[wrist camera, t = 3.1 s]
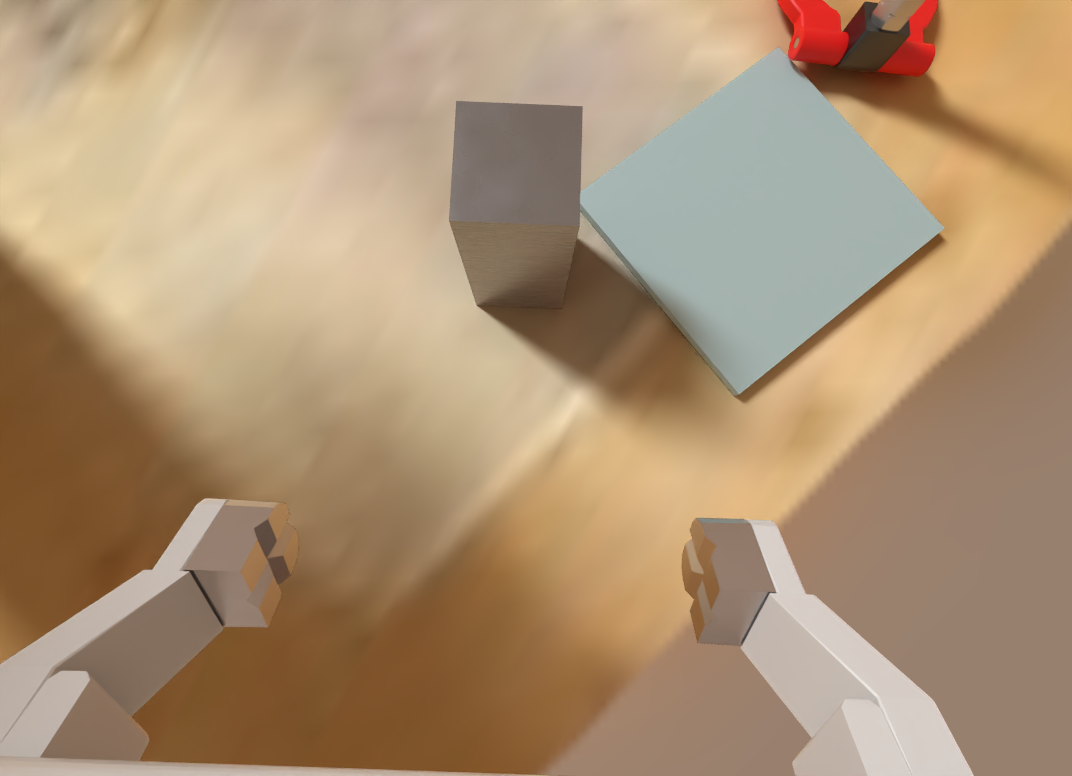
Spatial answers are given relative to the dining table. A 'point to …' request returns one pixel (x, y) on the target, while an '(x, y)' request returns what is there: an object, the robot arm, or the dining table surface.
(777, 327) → the pad
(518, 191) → the link block
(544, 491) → the dining table surface
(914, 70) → the tow hook
